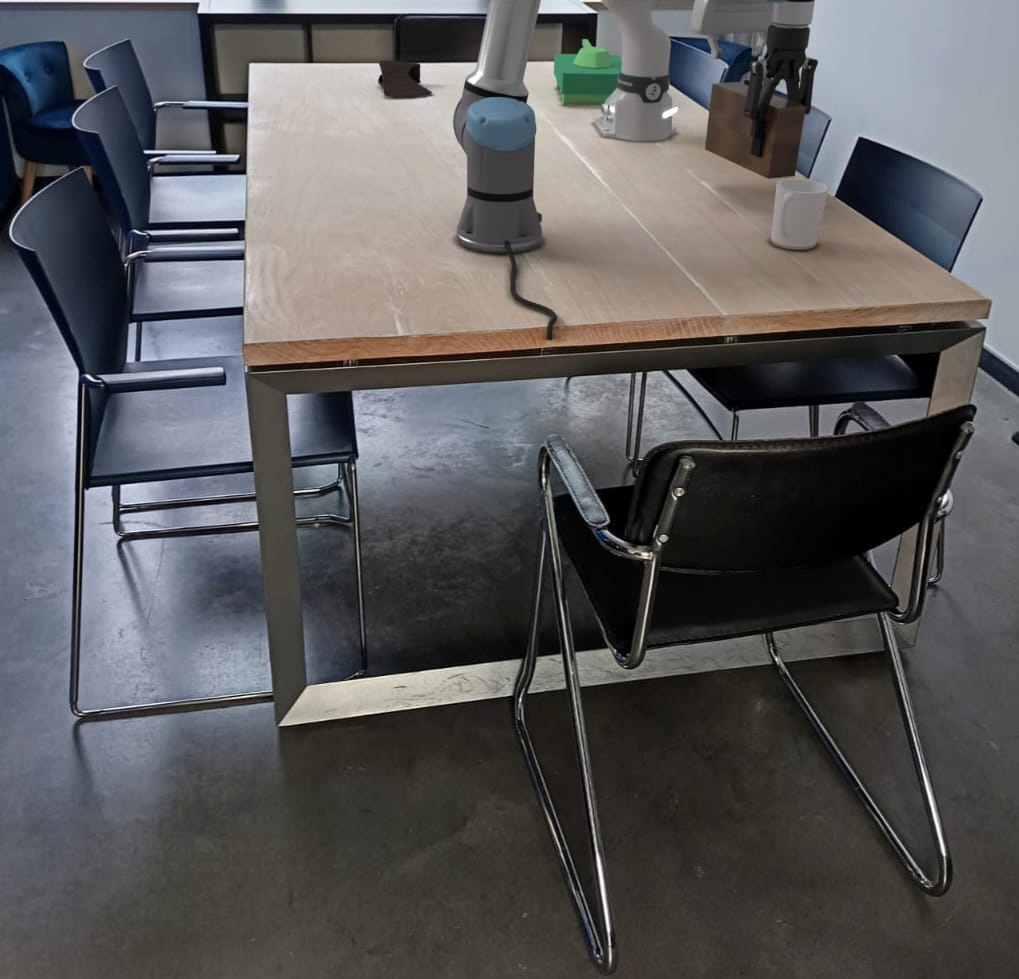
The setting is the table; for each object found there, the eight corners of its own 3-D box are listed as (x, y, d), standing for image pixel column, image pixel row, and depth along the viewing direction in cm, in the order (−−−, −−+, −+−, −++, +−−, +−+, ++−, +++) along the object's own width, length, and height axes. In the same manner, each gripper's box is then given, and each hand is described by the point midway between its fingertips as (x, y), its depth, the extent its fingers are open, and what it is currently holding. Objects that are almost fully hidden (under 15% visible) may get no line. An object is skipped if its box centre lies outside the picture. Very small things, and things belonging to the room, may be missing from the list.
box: (795, 176, 210) (806, 106, 203) (768, 179, 208) (778, 108, 201) (729, 147, 228) (737, 81, 221) (704, 149, 225) (712, 83, 219)
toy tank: (614, 36, 311) (632, 59, 281) (611, 81, 317) (628, 108, 287) (553, 34, 310) (563, 57, 280) (550, 80, 316) (561, 107, 286)
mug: (782, 231, 203) (791, 175, 197) (827, 242, 198) (837, 185, 193) (753, 245, 196) (761, 188, 190) (799, 257, 191) (809, 198, 185)
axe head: (443, 87, 294) (392, 77, 287) (436, 115, 299) (385, 106, 292) (421, 62, 307) (371, 52, 300) (414, 89, 311) (365, 80, 304)
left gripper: (820, 19, 204) (800, 145, 216) (733, 23, 198) (718, 153, 210) (845, 26, 199) (823, 154, 211) (757, 30, 192) (739, 163, 204)
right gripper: (781, -23, 214) (771, 52, 221) (690, -20, 207) (684, 57, 214) (800, -20, 209) (790, 57, 216) (708, -17, 202) (701, 62, 209)
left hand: (771, 153), depth 210 cm, fingers closed on box, 6 cm apart
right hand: (736, 57), depth 215 cm, fingers open, 8 cm apart
